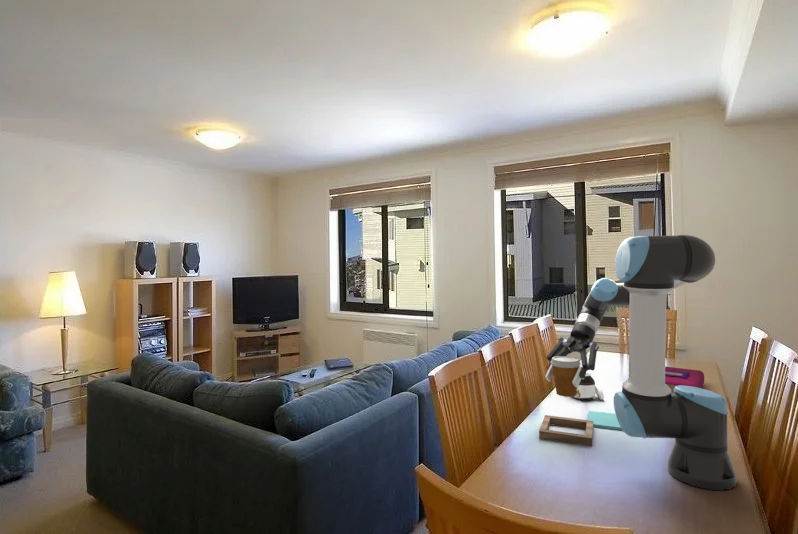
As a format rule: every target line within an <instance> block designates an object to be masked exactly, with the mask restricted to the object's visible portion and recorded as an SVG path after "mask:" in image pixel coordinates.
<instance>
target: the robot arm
mask: <svg viewBox="0 0 798 534" xmlns="http://www.w3.org/2000/svg"><path fill="white" fill-rule="evenodd" d="M715 255H716V254H715V252H714V249H713V248H712V246H711V245H710V244H709V243H707V242H706V241H705V240H703V239H701V238H699V237H696V236H693V235H689V234H688V235H687V234H679V235H678V234H677V235H639V236H632V237H628V238H626V239H624V240H623V241H622V242H621V244H620V245H619V246H618V249H617V252H616V256H615V259H614V270H615V276H616V277H617V279H618V280H619V281H621V283H620V282H619V283H616V281H614V280H613V279H610V278H607V277H601V278H600V279H597V280H596V281H595V282H594V283H593V285H592V287H591V289H590V292H589V293H588V296H587V297H586V300H585V302H584V304H583V305H582V308H581V311H580V312H579V315H578V317H577V319H576V320H575V323H574V325H573V326H572V329H571V332H570V334H569V337H568V338H567V339H565V338H563V337H560V338H558V342H557V343H556V345H555V346H554V347H553V348H552V350H551V351H550V352H549V354H547V356H546V359H547V361H548V364H547V365H548V366H547V368H546V369H547V371H546V374H545V376H544V378H545V379H546V380H547V381H548V382H551V380H552V379H553V378H554V373H553V367H552V364H551V361H552V358H553V357H556V356H569V355H570V354H572V353H573V352H574V353H579V354H580V360H581V364H580V366H579V368H578V370H577V372H576V375H575V377H574V379H573V381H572V383H573V385H574V386H575V387H577V388H578V385H579V383H580V381H581V379H582V378H584V377H585V375H586V373H587V371H588V370H589V371H595V369H596V361H597V353H598V350H599V349H600V347H599V345H598V343H597V341H594V339H595V337H596V334H597V332H598V330H599V328H600V325H601V322H602V320H603V318H604V316H605V314H606V312H607V310H608V309H609V307H610V306H629V310H628V311H629V314H628V315H629V316H628V317H629V319H628V320H629V322H628V323H629V324H628V326H629V327H628V329H629V330H628V378H627V379H626V380H625V381H623V382H622V385H621V387H622V388H621V391H618V392H615V393H614V396H613V408H614V414H616V417H617V420H618V422H619V425H620V426H621V428H622V430H623V431H622V432H624V434H626V435H627V436H629V437H632V438H641V439H674V445H673V448H672V450H671V453H670V454H669V455H670V456H669V458H668V460H667V471H668V473H669V474H670V475H671V476H672V477H673V478H675V479H676V480H677V481H678V480H679V481H680V482H682V483H684V482H685V483H684V484H686V483H688V484H687V485H689V484H691V485H690V486H692V485H693V486H692V487H695V486H697V487H696V488H699V487H700V489H704V488H705V490H710V491H711V490H712V491H725V490H724V489H729V488H732V487H734V486H735V485H736V486H737V484H736V483H737V473H736V471H735V468H734V465H733V462H732V461H731V458H730V455H729V452H728V451H729V449H728V448H729V447H728V416H729V412H728V406H727V400H726V399H725V397H723V396H722V395H720V394H719V393H717V392H714V391H711V390H708V389H704V388H702V389H701V388H697V387H691V386H683V385H679V386H675V388H674V393H671V389H670V388H669V387H668V386H667V385H666V384H665V367H666V357H667V355H666V351H667V350H666V349H667V346H666V345H667V307H668V306H667V302H668V301H667V300H668V298H667V297H668V294H669V293H670V292H671V291H673V290H675V289H677V288H679V287H681V286H682V285H685V284H693V283H696V282H699V281H700V280H703V279H704V278H706V277H707V276H708V275H710V274H711V273H712V271H713V270H714V267H715V264H716V256H715ZM622 282H623V283H622ZM587 349H589V353H588V354H589V356H588V357H587V355H588V354H587ZM736 486H735V487H736ZM735 487H734V488H735ZM732 489H733V488H732ZM729 490H730V489H729Z"/></svg>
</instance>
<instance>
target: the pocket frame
mask: <svg viewBox="0 0 798 534" xmlns="http://www.w3.org/2000/svg"><path fill="white" fill-rule="evenodd" d="M550 424H554V425H553V426H558V425H560V426H559V427H565V426H568V428H573V427H574V428H573V429H575V428H576V429H582V430H585V433H584V434H582V433H574V432H573V433H572V432H567V431H559V430H550V426H551V425H550ZM538 437H539V438H542V439H541V440H546V439H547V440H549V441H553V442H554V441H555V442H561V443H562V442H563V443H569V444H575V445H582V446H583V445H584V446H590V447H593V442H594V441H593V440H594V439H593V438H594V427H593V421H590V420H588V419H580V418H572V417H564V416H555V415H547V414H545V415H544V417H543V419H542V422H541V425H540V427H539V431H538Z"/></svg>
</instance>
